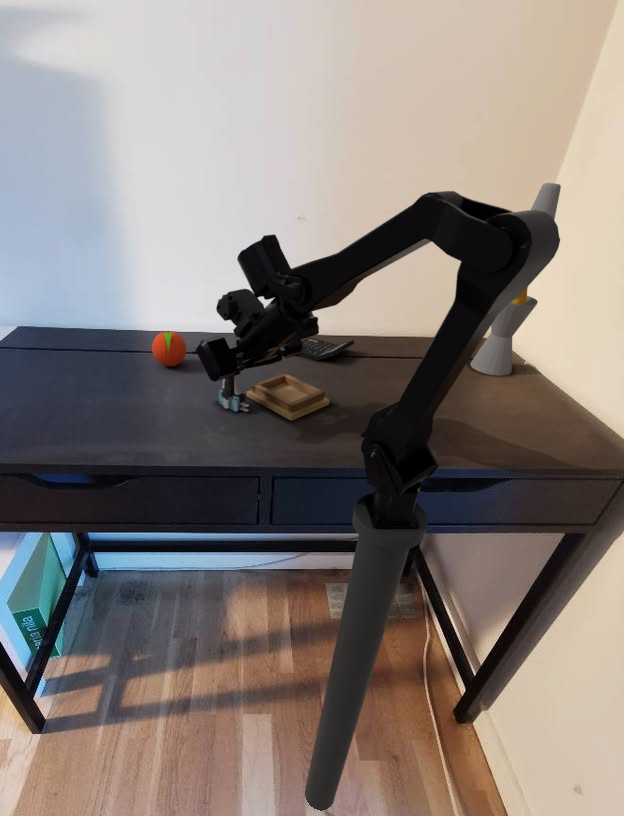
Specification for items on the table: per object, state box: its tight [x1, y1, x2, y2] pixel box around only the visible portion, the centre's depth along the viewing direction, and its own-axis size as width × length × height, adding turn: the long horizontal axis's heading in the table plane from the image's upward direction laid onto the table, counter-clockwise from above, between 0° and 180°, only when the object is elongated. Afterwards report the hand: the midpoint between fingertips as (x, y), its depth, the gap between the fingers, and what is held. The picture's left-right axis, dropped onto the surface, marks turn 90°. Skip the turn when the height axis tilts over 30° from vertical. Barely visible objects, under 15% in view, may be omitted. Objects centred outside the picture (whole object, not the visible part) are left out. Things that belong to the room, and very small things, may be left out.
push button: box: [218, 355, 250, 412], centre depth 85 cm, size 7×5×10 cm
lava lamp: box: [469, 182, 562, 377], centre depth 98 cm, size 9×9×35 cm
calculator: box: [296, 336, 355, 361], centre depth 110 cm, size 9×12×3 cm
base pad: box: [245, 372, 331, 421], centre depth 90 cm, size 12×10×2 cm
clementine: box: [151, 330, 187, 367], centre depth 100 cm, size 8×7×7 cm
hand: (229, 370), depth 85 cm, fingers closed on push button, 5 cm apart
